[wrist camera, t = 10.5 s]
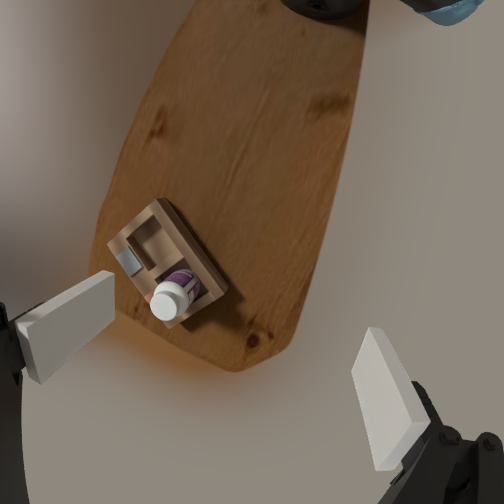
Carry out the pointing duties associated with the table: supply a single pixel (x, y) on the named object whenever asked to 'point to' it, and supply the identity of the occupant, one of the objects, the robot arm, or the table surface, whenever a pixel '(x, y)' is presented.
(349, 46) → the table surface
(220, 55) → the table surface
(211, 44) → the table surface
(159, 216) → the socket block
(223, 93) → the table surface
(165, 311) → the pill bottle
